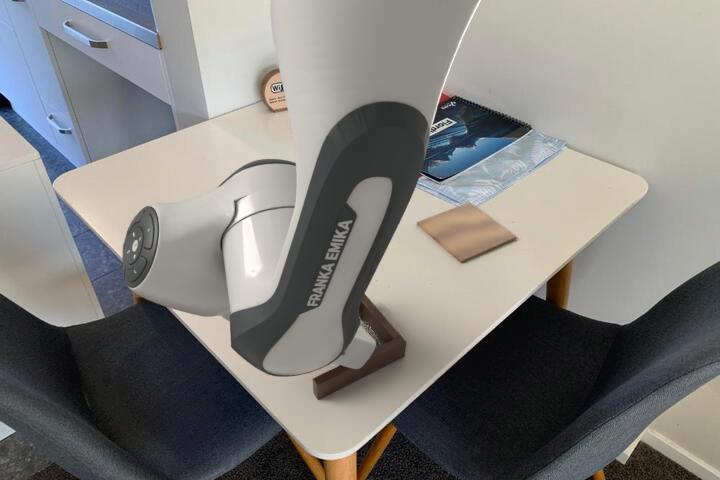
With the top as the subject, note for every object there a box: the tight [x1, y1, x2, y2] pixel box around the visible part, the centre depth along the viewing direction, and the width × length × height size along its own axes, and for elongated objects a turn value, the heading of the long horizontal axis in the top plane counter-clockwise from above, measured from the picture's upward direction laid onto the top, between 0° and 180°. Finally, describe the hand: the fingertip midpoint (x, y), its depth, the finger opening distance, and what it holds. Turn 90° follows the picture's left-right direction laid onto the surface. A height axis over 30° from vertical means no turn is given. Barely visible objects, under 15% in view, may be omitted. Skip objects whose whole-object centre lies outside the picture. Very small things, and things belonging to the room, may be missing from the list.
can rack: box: [312, 293, 407, 401], centre depth 69 cm, size 11×13×3 cm
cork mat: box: [416, 202, 517, 264], centre depth 90 cm, size 12×12×1 cm
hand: (344, 311), depth 66 cm, fingers closed on beer can, 5 cm apart
